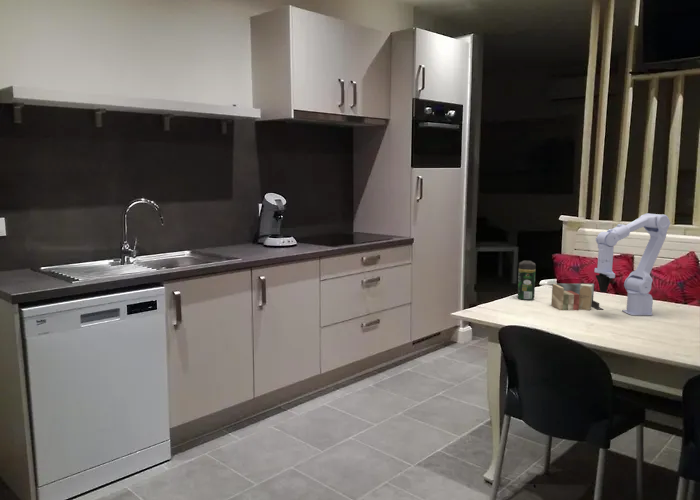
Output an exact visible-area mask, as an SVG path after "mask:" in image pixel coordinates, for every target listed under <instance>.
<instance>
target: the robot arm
mask: <svg viewBox="0 0 700 500" xmlns="http://www.w3.org/2000/svg"><path fill="white" fill-rule="evenodd" d="M670 225H671V221H670V219H669V217H668V215H667V214H663V213H662V214H660V213H659V214H658V213H657V214H656V213H649V212H647V213H644V214H641V215H640V216H639V217H638V218H636V219H635V220H633V221H631V222H629V223H627V224H624V223H623V224H622V223H618V224H616V226H614V227H613V228H609V229H608V230H607V231H600V232H599V233H598V234H597V236H596V237H595V242H596V244H597V248H598V253H597V265H596V266H597V267H594V273H597V274H595V278H596V279H597V282H598V287H599V292H600V293H607V291H608V288H609V285H610V284H611V282H612V280H613V279H615V278H616V273H614V271H613V262H614V247H615V246H616V245H617V243H618V242H619V241H621V240H623V239H626V238H628V237H629V235H630V234H631V232H634V231H637V230H639V229H642V228H643V229H644V230H645V231H646V232H647V234H649V236H650V237H649V240H648V242H647V243H646V247H645V249H644V251H643V254H642V255H641V258H640V260H639V263H638V264H637V267H636V269H635V270H633V271H631V272H630V273H629V274H628V277H626V278H625V280H624V284H623V287H624V289H625V290H626V292H627V299H626V309H622V312H624V313H626V314H628V315H630V316H653V303H654V300H653V295H652V294H650V292H651V290H652V284H653V281H654V280H653V278H652V276H651V275H650V274H651V272H652V270H653V268H654V267H655V266H654V265H655V263H656V260H657V259H658V256H659V254H660V253H661V252H660V251H661V250H662V247H663V245H664V243H665V240H666V238H667V233H668V230H669V227H670Z"/></svg>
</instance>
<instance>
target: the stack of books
mask: <svg viewBox="0 0 700 500" xmlns="http://www.w3.org/2000/svg"><path fill="white" fill-rule="evenodd" d="M581 284H582V283H552V287H551V289H552V290H551V303H550V304H551V305H550V306H552V307H553V308H555V309H557V310H559V311H579V310H580V309H579V293H580V285H581ZM588 284H589V285H593V293H592V304H591V308H594V309H595V310H597V311H603V310H604V308H602V307H601V306H600V303H599V302H597V301H595V300H594V292H595V283H588Z"/></svg>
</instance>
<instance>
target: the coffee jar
mask: <svg viewBox="0 0 700 500" xmlns="http://www.w3.org/2000/svg"><path fill="white" fill-rule="evenodd" d="M536 266H537V265H536V263H535V262H534V261H532V260H522V261H520V262H519V263H518V271H517V272H518V275H517V298H518V299H519V300H524V301H533V300H534V299H535V289H536V286H535V285H536Z"/></svg>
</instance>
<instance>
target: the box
mask: <svg viewBox="0 0 700 500" xmlns="http://www.w3.org/2000/svg"><path fill="white" fill-rule="evenodd" d="M580 284H581V285H580V293H579V309H578V310H584V311H590V310H591V309H592V307H591V304H592V293H593V285H589V284H590V283H580Z"/></svg>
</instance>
